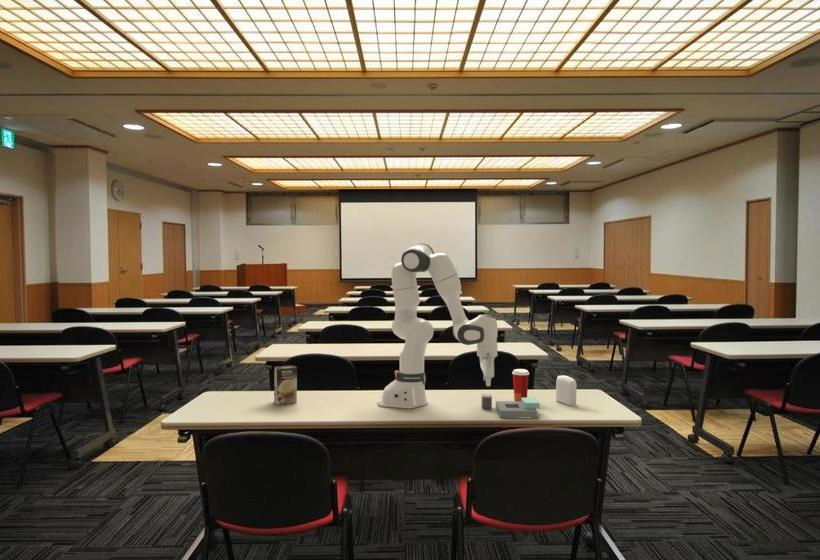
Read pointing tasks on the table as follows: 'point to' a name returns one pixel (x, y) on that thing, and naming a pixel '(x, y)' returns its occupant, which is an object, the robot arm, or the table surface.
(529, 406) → the mint green block
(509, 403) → the socket
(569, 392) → the book
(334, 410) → the table surface
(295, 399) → the coffee box
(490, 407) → the plug
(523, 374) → the paper cup
